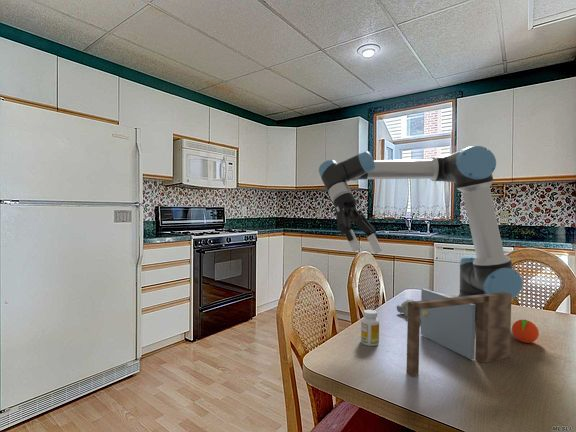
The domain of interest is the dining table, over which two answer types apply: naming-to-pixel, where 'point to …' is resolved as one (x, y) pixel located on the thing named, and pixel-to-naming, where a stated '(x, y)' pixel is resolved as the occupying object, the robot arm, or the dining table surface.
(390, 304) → the dining table surface
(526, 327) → the clementine
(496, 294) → the door frame
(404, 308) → the mineral specimen
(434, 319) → the door
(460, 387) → the dining table surface
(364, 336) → the supplement bottle
